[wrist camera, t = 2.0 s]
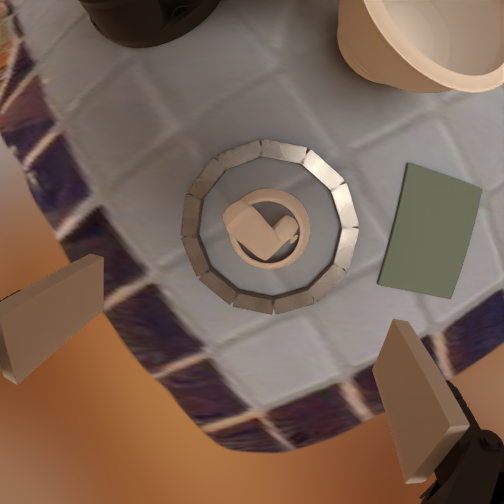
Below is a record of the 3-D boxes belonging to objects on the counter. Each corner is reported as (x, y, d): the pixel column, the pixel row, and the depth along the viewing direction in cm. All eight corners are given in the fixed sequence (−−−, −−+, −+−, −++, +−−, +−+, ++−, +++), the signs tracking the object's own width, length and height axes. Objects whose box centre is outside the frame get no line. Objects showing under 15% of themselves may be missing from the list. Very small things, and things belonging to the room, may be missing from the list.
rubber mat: (406, 162, 26) (408, 162, 26) (479, 188, 25) (482, 188, 25) (376, 283, 30) (378, 284, 29) (448, 297, 29) (450, 299, 28)
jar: (428, 103, 24) (525, 113, 11) (325, 88, 25) (361, 70, 12) (426, 7, 20) (509, -40, 6) (324, -12, 21) (348, -95, 7)
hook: (230, 123, 22) (294, 166, 19) (281, 193, 33) (330, 233, 29) (161, 195, 23) (210, 254, 19) (232, 245, 33) (275, 291, 30)
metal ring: (199, 130, 28) (196, 129, 27) (370, 163, 27) (373, 163, 26) (178, 289, 32) (174, 292, 31) (330, 321, 31) (331, 326, 30)
